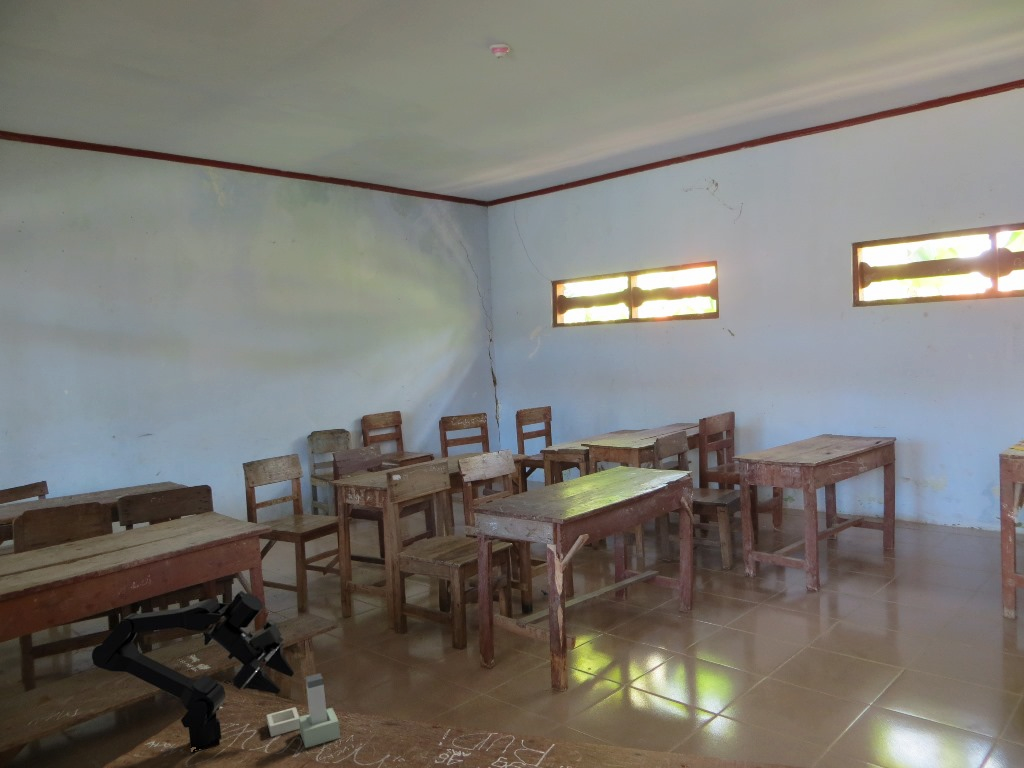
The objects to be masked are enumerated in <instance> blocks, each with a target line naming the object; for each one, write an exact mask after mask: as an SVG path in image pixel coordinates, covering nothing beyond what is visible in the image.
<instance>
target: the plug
mask: <svg viewBox="0 0 1024 768" xmlns="http://www.w3.org/2000/svg"><path fill="white" fill-rule="evenodd" d="M305 687H306V695H307V696H306V697H307V705H308V714H309V716H310V726H313V725H316V724H320V723H323V722H327V713H326V709H327V704H326V697H325V685H324V678H323V676H322V673H321V672H320V673H316V674H312V675H307V676H305Z"/></svg>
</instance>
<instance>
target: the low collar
mask: <svg viewBox="0 0 1024 768" xmlns="http://www.w3.org/2000/svg"><path fill="white" fill-rule="evenodd" d="M299 717H300V714H299V713H298V710H297V707H296V706H294V707H291V708H287V709H284V710H281V711H277V712H276V711H275V712H272V713H269V714H266V722H267V727H268V730H269V731H268V732H269V735H270V737H271V738H272V737H275V736H279V735H283V734H286V733H290V732H294V731H296V730H300V725H299Z"/></svg>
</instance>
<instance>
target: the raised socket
mask: <svg viewBox="0 0 1024 768" xmlns="http://www.w3.org/2000/svg"><path fill="white" fill-rule="evenodd" d="M326 713H327V722H323V723H320V724H316V725H313V726H310V716H309V713H307V714H304V715H301V716H300V715H299V725H300V729H299V733H300V736H301V739H302V742H303V744H304V747H305V749H307V748H310V747H314V746H318V745H321V744H323V743H327V742H330V741H331V742H332V741H334V740H337V739H341V732H340V721H339V719H338V717H337V715H336V713H335V711H334V708H333V707H329V708H326Z"/></svg>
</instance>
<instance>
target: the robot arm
mask: <svg viewBox="0 0 1024 768" xmlns="http://www.w3.org/2000/svg"><path fill="white" fill-rule="evenodd" d="M263 609H264V603H263V602H262V601H261V599H260V598H259V597H258V596H257V595H253V594H251V593H245V592H244V591H243V590H240V591H239V592H237V594H236V595H235V596H234V597H233V600H231V602H230V603H227V602H226V603H224V602H217V601H216V600H215V599H213V598H212V599H210V598H209V599H204V600H202V601H199V602H195V603H193V604H191V605H188V606H186V607H182V608H175V609H174V608H173V609H168V610H159V611H151V612H143V613H136V612H133V613H130V614H129V615H128V616H125V617H124V618H122V619H121V620H119V623H118V624H117V625H116V627H115V628H114V630H112V632H111V633H110V634H109V635H108V636H107V637H106V638H105V639H104V641H103V642H101V643H100V644H98V645H97V646H96V647H94V648H93V650H92V654H91V660H92V664H93V665H94V666H95V667H96V668H98V669H101V670H104V671H108V672H109V673H110V672H112V673H126V674H128V675H131V676H133V677H135V678H137V679H139V680H141V681H143V682H144V683H145V682H146V683H147V684H149V685H151V686H153V687H155V688H157V689H159V690H161V691H163V692H165V693H166V694H167V693H168V694H169V695H171V696H173V697H175V698H177V699H179V701H180V702H181V704H182V706H183V707H184V709H185V710H186V711H187V712H186V713H185V714H184V715H183V716H182V717H181V719H180V722H181V723H182V726H183V728H185V729H186V728H188V735H189V736H188V737H189V747H190V746H191V748H192V747H196V749H194V750H193V751H195V750H199V749H204V748H207V749H209V748H208V747H211V748H213V747H212V746H215V747H217V746H216V745H218V746H220V744H221V742H220V740H221V739H222V732H221V730H222V729H221V721H220V718H219V717H218V718H217V712H218V711H219V710H220V707H221V705H222V704H223V703H224V701H225V699H226V691H225V687H224V686H223V685H222V684H221V683H220V680H218V679H217V680H216V679H214V678H211V677H210V676H209V675H207V674H202V676H200V677H199V678H198V679H196V678H195V679H194V678H191V677H188V676H186V675H184V674H183V673H180V672H179V671H176V670H174V669H173V668H170V667H168V666H166V665H165V664H163V663H161V662H158V661H157V660H154V659H152V658H150V657H148V656H147V655H145V654H142V653H141V652H140V650H139V648H138V647H137V646H136V644H135V643H134V642H133V641H134V639H135V638H136V637H137V634H138V633H148V632H154V631H164V630H172V629H183V630H185V631H187V632H188V631H189V632H203V631H205V630H207V629H208V630H207V631H205V632H204V634H203V636H204V641H203V642H204V643H203V644H204V646H208V645H209V644H210V643H211V642H212V641H214V642H215V643H216V644H217V645H219V646H220V647H221V648H222V649H223V650H225V651H226V652H227V653H229V655H227V658H228V659H229V660H233V658H235V659H236V661H238V662H239V663H240V664H241V665H242V666H241V668H240V669H239V670H238V672H237V673H236V674H235V676H234V677H233V678H232V685H233V686H234V687H235V688H236V689H238V690H239V691H240V690H241V689H242V687H243V690H246V689H248V690H249V689H250V690H255V691H261V692H266V693H271V694H276V695H279V693H280V692H281V690H282V689H281V688H280V687H279V686H278V685H277V684H276V683H275V682H274V681H273V680H272V679H271V677H270V676H268V675H267V673H266V669H265V667H268V668H270V669H272V670H274V671H276V672H279V673H281V674H283V675H285V676H288V677H290V678H292V677H293V676H294V675H295V672H294V670H293V668H292V666H291V665H290V663H289V662H288V660H287V658H286V656H285V655H284V643H283V642H284V638H282V637H281V636H282V633H281V631H280V627H281V626H280V625H279V624H277V622H274V621H273V620H269V621H266V623H264V624H263V629H262V630H261V631H260V632H258V633H255V632H254V631H250V632H248V633H247V632H246V631H245V630H244V628H245V629H246V628H247V627H249V626H250V625H251V623H252V622H253V621H254V620H255V619H256V617H257V616H258V615H259V614H260V613H261V612H262V610H263ZM224 618H225V619H224ZM222 619H224V621H221V620H222ZM212 625H214V626H213V627H212V629H209V628H210V627H211V626H212ZM261 663H265V664H262V665H261ZM204 750H205V749H204Z"/></svg>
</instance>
